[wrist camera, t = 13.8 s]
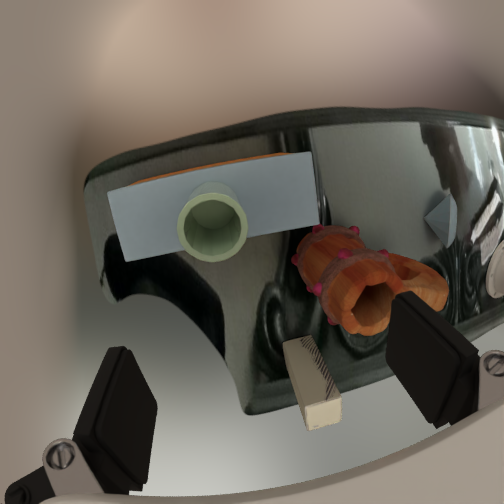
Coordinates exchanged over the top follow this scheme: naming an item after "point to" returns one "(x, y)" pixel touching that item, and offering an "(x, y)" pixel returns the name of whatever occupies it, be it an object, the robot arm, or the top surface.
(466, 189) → the top surface
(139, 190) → the container
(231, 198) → the cup
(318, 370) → the box
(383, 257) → the mug
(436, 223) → the gemstone
